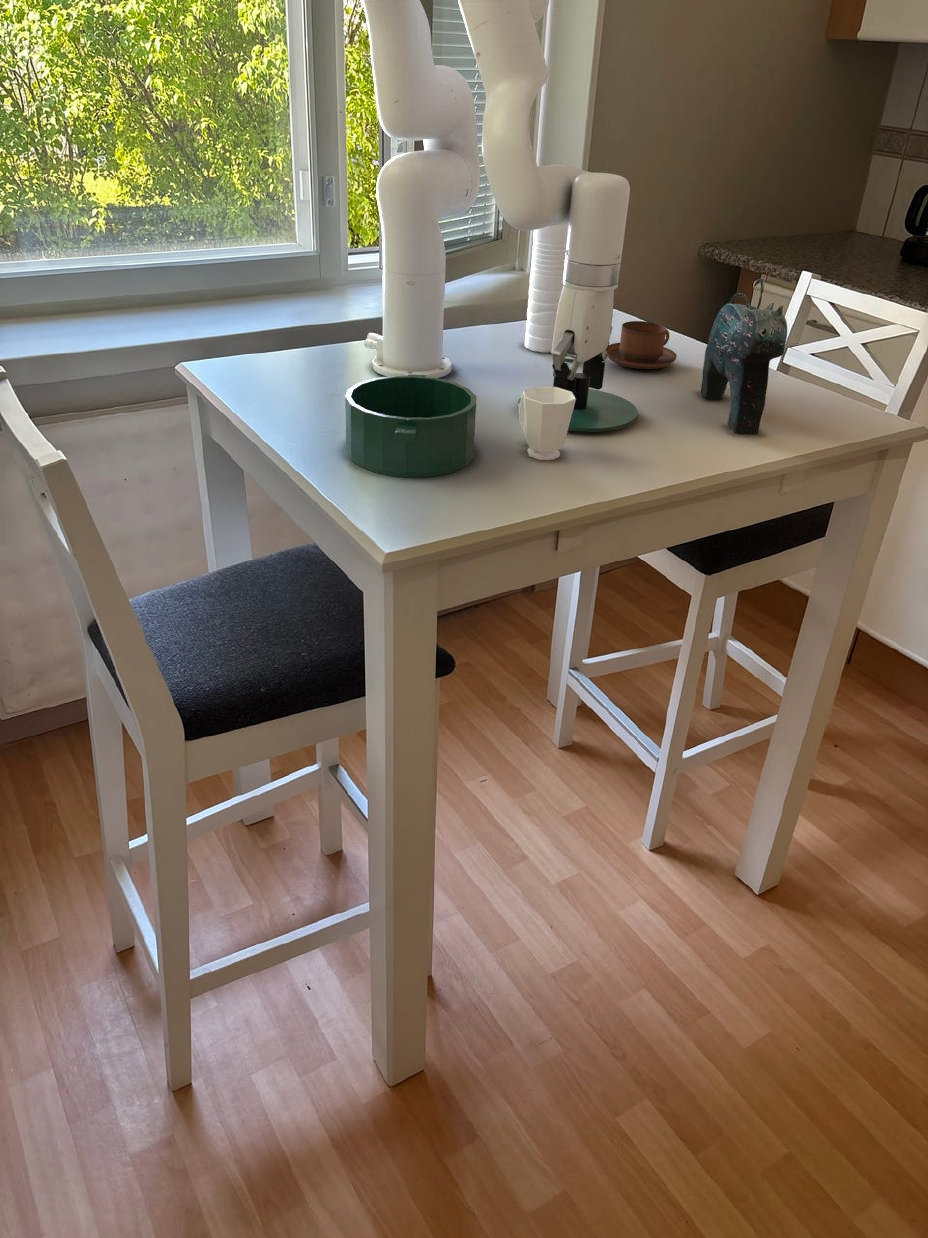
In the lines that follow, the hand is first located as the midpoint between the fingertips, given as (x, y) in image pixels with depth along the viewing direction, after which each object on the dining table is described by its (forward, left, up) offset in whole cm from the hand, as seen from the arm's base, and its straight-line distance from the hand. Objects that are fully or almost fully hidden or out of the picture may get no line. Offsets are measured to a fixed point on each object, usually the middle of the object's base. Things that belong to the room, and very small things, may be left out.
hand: (577, 395), depth 142 cm
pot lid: (0, 0, -2) cm, 2 cm away
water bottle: (-20, +27, -3) cm, 34 cm away
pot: (-11, -27, -3) cm, 29 cm away
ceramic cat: (+18, +14, -3) cm, 23 cm away
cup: (+2, -16, -3) cm, 16 cm away
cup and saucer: (-2, +29, -3) cm, 29 cm away
